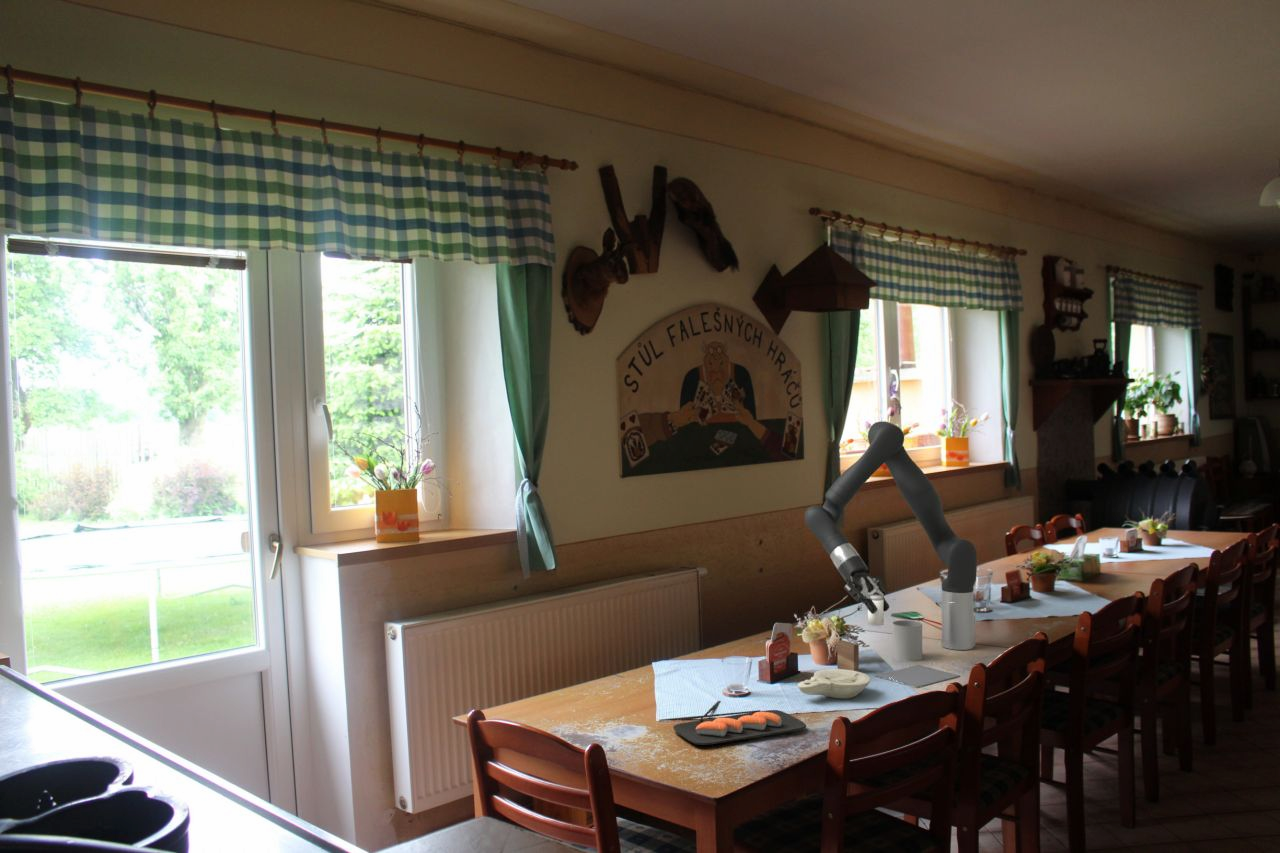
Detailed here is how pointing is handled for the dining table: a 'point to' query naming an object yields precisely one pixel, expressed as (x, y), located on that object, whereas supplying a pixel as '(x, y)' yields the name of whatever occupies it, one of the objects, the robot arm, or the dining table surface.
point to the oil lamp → (835, 683)
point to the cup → (907, 640)
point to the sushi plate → (736, 726)
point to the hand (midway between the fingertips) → (880, 610)
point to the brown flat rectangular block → (848, 655)
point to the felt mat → (918, 675)
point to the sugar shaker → (878, 616)
